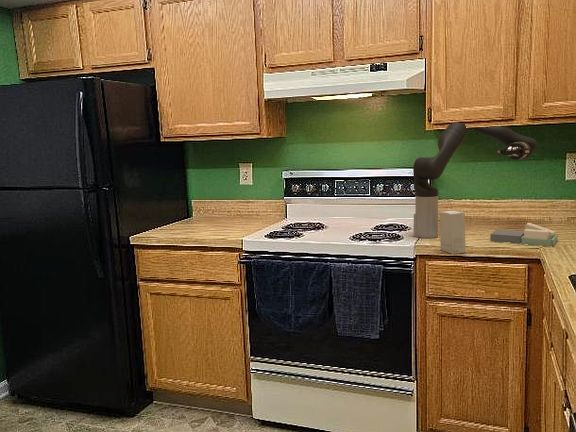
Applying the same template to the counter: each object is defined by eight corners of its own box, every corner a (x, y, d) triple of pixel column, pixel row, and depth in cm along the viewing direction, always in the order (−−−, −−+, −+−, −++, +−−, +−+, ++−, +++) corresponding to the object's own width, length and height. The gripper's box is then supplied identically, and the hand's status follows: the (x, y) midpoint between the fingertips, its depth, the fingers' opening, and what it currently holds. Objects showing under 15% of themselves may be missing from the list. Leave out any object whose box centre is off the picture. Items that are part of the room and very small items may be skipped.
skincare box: (465, 253, 189) (466, 212, 186) (450, 254, 187) (451, 213, 185) (453, 248, 197) (453, 209, 195) (438, 249, 195) (439, 210, 193)
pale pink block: (524, 230, 199) (547, 232, 194) (526, 228, 202) (549, 230, 198) (523, 243, 200) (547, 245, 195) (525, 241, 203) (548, 243, 198)
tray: (520, 244, 200) (520, 238, 199) (526, 238, 210) (527, 232, 210) (552, 247, 194) (552, 240, 193) (557, 240, 204) (557, 234, 204)
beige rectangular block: (526, 224, 204) (552, 233, 198) (529, 222, 207) (555, 231, 201) (522, 233, 205) (549, 242, 199) (525, 231, 208) (551, 241, 202)
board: (490, 241, 207) (490, 234, 206) (496, 236, 216) (496, 229, 215) (520, 243, 201) (520, 236, 200) (525, 238, 210) (525, 231, 209)
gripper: (501, 142, 231) (491, 143, 217) (534, 141, 224) (525, 143, 210) (501, 159, 232) (491, 161, 218) (533, 159, 225) (525, 161, 211)
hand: (508, 152), depth 214 cm, fingers closed
